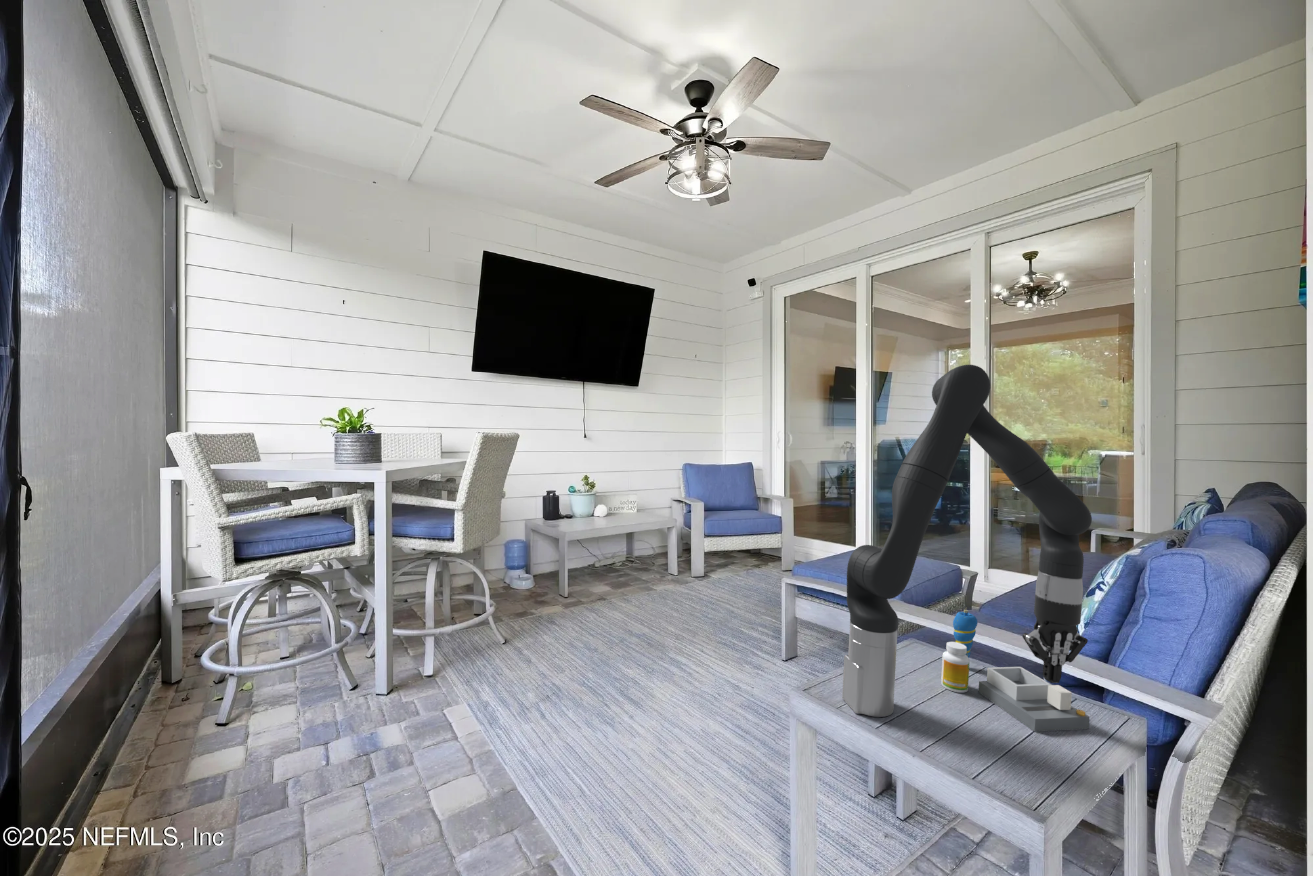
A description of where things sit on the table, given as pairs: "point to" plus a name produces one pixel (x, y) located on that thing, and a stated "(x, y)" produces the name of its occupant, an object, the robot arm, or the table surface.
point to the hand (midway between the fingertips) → (1051, 681)
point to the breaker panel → (1029, 700)
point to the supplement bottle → (955, 668)
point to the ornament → (965, 629)
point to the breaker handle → (1059, 697)
